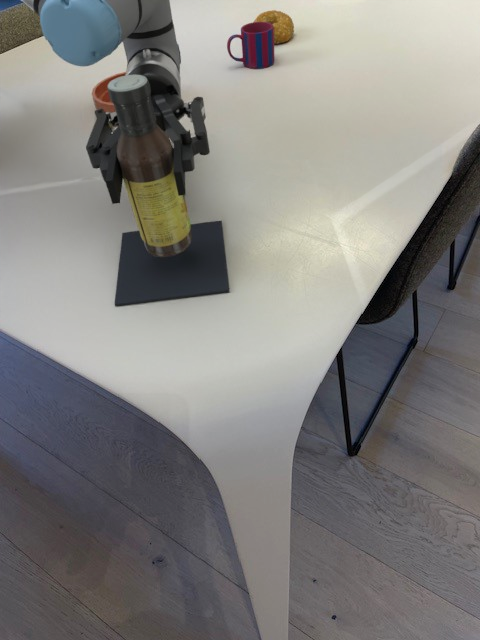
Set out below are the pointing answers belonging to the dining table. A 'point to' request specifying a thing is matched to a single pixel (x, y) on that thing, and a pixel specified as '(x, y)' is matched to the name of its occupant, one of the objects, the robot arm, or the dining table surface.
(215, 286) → the mat
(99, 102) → the dish
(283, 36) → the bagel
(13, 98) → the dining table surface
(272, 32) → the mug
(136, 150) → the sauce bottle
